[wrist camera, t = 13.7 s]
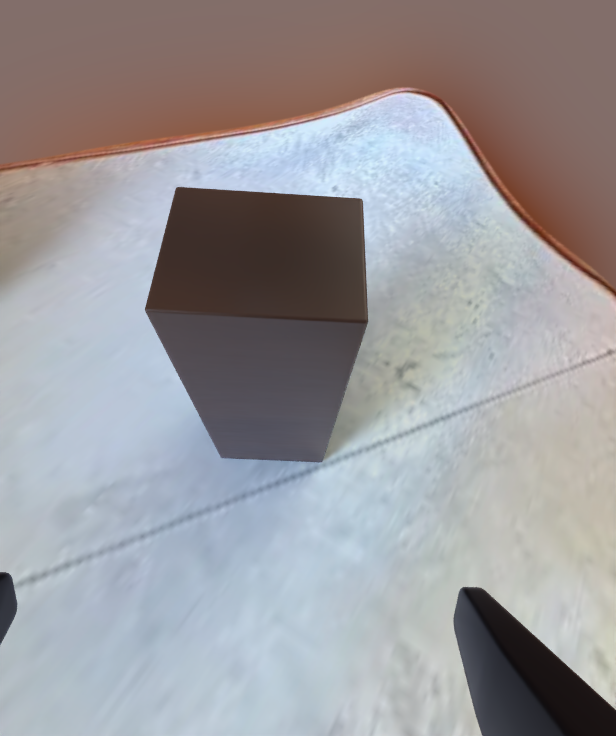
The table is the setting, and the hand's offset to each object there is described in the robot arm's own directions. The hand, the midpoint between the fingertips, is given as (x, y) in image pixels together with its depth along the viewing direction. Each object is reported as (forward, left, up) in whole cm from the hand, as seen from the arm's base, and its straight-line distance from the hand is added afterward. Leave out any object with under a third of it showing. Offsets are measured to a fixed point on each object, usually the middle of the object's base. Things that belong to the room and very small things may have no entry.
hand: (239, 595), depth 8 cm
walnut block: (+2, +7, -11) cm, 13 cm away
